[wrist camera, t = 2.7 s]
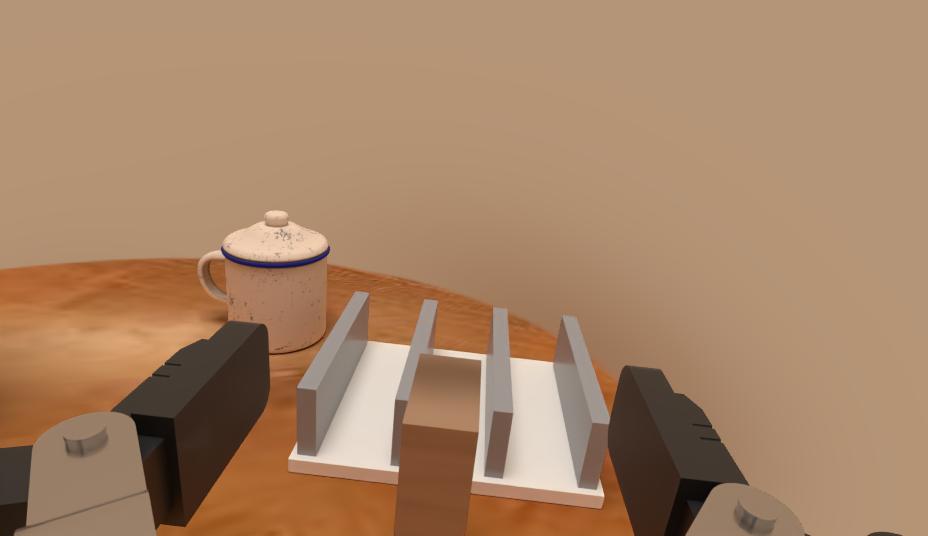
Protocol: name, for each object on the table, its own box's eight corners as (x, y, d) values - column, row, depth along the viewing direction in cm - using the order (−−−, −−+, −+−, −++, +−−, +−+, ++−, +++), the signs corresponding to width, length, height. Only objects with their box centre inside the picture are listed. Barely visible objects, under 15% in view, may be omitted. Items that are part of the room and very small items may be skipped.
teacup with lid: (341, 318, 54) (343, 207, 50) (307, 363, 46) (307, 234, 42) (228, 302, 55) (221, 191, 51) (174, 343, 47) (161, 215, 43)
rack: (601, 508, 34) (621, 431, 32) (288, 471, 34) (287, 391, 32) (567, 373, 49) (579, 314, 47) (350, 348, 49) (352, 288, 47)
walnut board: (449, 643, 25) (478, 432, 21) (386, 635, 25) (402, 423, 21) (457, 545, 30) (481, 360, 26) (404, 539, 30) (420, 353, 26)
